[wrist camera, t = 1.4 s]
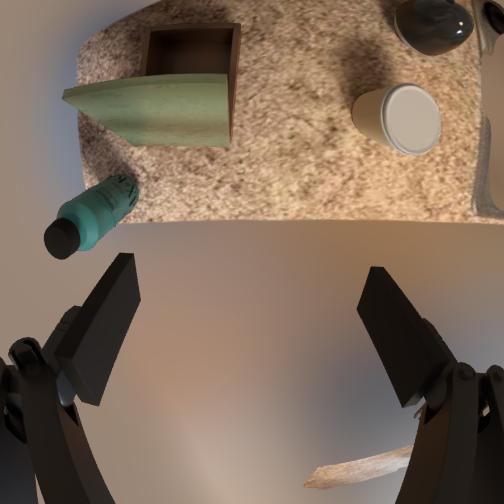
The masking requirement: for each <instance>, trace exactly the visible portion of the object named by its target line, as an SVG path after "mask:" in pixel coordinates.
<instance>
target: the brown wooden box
mask: <svg viewBox="0 0 504 504" xmlns="http://www.w3.org/2000/svg"><path fill="white" fill-rule="evenodd" d="M240 44H241V24H240V23H186V24H171V25H161V26H152V27H146V28H145V35H144V42H143V50H142V59H141V68H140V77H142V76H153V75H168V74H227V83H228V107H229V128H230V142H231V140H232V134H233V121H234V109H235V97H236V86H237V75H238V64H239V54H240Z"/></svg>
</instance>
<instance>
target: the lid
mask: <svg viewBox="0 0 504 504" xmlns="http://www.w3.org/2000/svg"><path fill="white" fill-rule="evenodd" d="M62 99H63V100H64V101H66V102H67V103H69V104H70V105H72V106H74V107H75V108H77V109H78V110H80V111H81V112H83V113H84V114H86V115H88V116H89V117H91V118H92V119H94V120H95V121H97V122H98V123H100V124H101V125H103V126H105V127H106V128H108V129H109V130H111V131H112V132H114V133H115V134H117V135H118V136H120V137H121V138H123V139H124V140H126V141H127V142H129V143H130V144H132V145H133V146H135V147H139V146H211V147H230V128H229V107H228V83H227V74H168V75H153V76H142V77H133V78H125V79H117V80H111V81H104V82H99V83H93V84H88V85H83V86H78V87H74V88H70V89H65V90H64V92H63V96H62Z"/></svg>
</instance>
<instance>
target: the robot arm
mask: <svg viewBox="0 0 504 504" xmlns="http://www.w3.org/2000/svg"><path fill="white" fill-rule="evenodd" d="M140 301H141V298H140V292H139V286H138V279H137V273H136V266H135V259H134V254H133V253H119V254H118V256H117V257H116V258H115V259H114V261H113V262H112V264H111V265H110V266H109V268H108V269H107V270H106V272H105V273H104V275H103V276H102V277H101V279H100V280H99V282H98V283H97V284H96V286H95V287H94V289H93V290H92V292H91V293H90V295H89V296H88V298H87V299H86V301H85V302H84V304H83V306H82V307H80V306H73V307H72V308H70V309H69V310H68V311H67V312H65V314H64V315H63V317H62V318H61V320H60V323H58V324H57V326H56V327H55V330H54V331H53V332H52V334H51V335H50V337H49V338H48V340H47V342H46V343H45V345H44V347H43V348H42V349H41V347H40V345H39V343H38V342H37V341H36V340H35V339H34V338H30V337H27V338H22V339H19V340H17V341H16V342H15V343H14V344H13V345H12V346H11V348H10V349H9V353H8V356H9V358H10V359H11V361H12V362H13V364H14V365H6V364H5V362H4V361H3V359H2V358H1V357H0V504H38V498H37V490H36V480H35V474H36V477H37V480H38V484H39V487H40V490H41V493H42V496H43V498H44V501H45V504H115V502H114V500H113V498H112V496H111V494H110V492H109V490H108V488H107V486H106V484H105V482H104V480H103V478H102V475H101V473H100V471H99V469H98V467H97V464H96V462H95V459H94V457H93V454H92V452H91V449H90V447H89V444H88V441H87V438H86V436H85V433H84V430H83V427H82V424H81V421H80V417H79V414H78V411H77V407H76V405H75V403H74V401H73V400H74V397H75V395H76V394H77V395H78V397H79V398H80V400H81V401H82V402H84V403H88V404H91V405H95V406H99V404H100V401H101V399H102V396H103V393H104V390H105V387H106V384H107V382H108V379H109V376H110V374H111V371H112V368H113V366H114V363H115V360H116V358H117V355H118V353H119V350H120V348H121V345H122V343H123V340H124V338H125V336H126V333H127V331H128V329H129V326H130V324H131V322H132V319H133V317H134V314H135V312H136V310H137V308H138V306H139V303H140ZM357 311H358V313H359V315H360V317H361V319H362V321H363V323H364V325H365V327H366V329H367V331H368V333H369V335H370V338H371V340H372V342H373V344H374V346H375V348H376V350H377V352H378V354H379V356H380V359H381V361H382V363H383V365H384V367H385V369H386V372H387V374H388V376H389V378H390V380H391V383H392V385H393V387H394V390H395V392H396V394H397V397H398V399H399V401H400V404H401V406H402V408H405V407H409V406H413V405H416V404H417V403H418V402H419V401H420V399H421V398H422V397H423V396H424V398H425V400H426V402H425V403H424V405H423V406H422V407H421V408H420V409H419V410H418V411H417V412H416V414H415V415H414V418H416V417H417V416H418V415H419V414H420V413H421V416H420V418H419V420H420V421H419V426H418V431H417V435H416V439H415V443H414V447H413V451H412V454H411V458H410V461H409V465H408V468H407V471H406V474H405V477H404V480H403V483H402V486H401V489H400V492H399V494H398V497H397V499H396V502H395V504H504V370H503V368H501V367H500V366H497V365H492V366H491V367H490V368H489V369H488V370H487V372H486V373H476V372H475V370H474V369H473V368H472V367H471V366H470V365H468V364H466V363H463V362H460V363H458V362H457V360H456V359H455V357H454V356H453V354H452V352H451V351H450V349H449V348H448V346H447V345H446V343H445V342H444V341H443V340H442V337H441V336H440V335H439V334H438V332H437V330H436V329H435V327H434V326H433V325H432V324H431V323H430V322H429V321H427V320H426V319H425V318H421V316H420V315H419V313H418V312H417V311H416V309H415V308H414V307H413V305H412V304H411V302H410V301H409V300H408V298H407V297H406V296H405V294H404V293H403V292H402V290H401V289H400V288H399V287H398V285H397V284H396V283H395V281H394V280H393V279H392V277H391V276H390V275H389V274H388V272H387V271H386V270H385V268H384V267H371V268H370V271H369V274H368V277H367V280H366V284H365V287H364V289H363V292H362V295H361V298H360V301H359V304H358V306H357ZM488 406H489V410H490V412H489V413H488V414H487V415H486V416H484V415H483V411H484V410H485V409H486V408H487V407H488ZM4 411H5V412H4Z"/></svg>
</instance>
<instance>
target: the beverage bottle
mask: <svg viewBox="0 0 504 504" xmlns="http://www.w3.org/2000/svg"><path fill="white" fill-rule="evenodd" d="M98 183H99V182H98ZM138 196H139V192H138V187H137V185H136V183H135V181H134V180H133V179H132V178H131V177H129V176H127V175H125V174H124V175H123V174H117V175H116V174H115V175H114V176H113V175H112V176H110V177H108V178H107V179H106V180H104V181H102V182H100V183H99V184H97V185H95V186H93V187H91V188H88V190H86V191H85V192H83V193H82V194H80V195H78V196H77V197H75V198H73V199H72V200H70V201H68V202H66V203H64V204H63V205H62V206H61V207H60V209H59V211H58V214H57V219H56V220H55V221H54V222H53V223H52V224H51V225H50V226H49V227H48V228H47V229H46V231H45V233H44V242H45V246H46V248H47V250H48V252H49V253H50V254H51V255H52V256H53V257H55V258H57V259H61V260H63V259H66V258H68V257H69V256H70V255H72V254H73V253H75V252H76V251H87V250H90V249H91V248H93V247H94V246H95V245H96V243H97V242H98V241H99V240H100V239H101V238H102V237H103V236H104V235H105V234H106V233H107V232H108V231H109V230H110V229H112V228H113V227H114V226H115V225H116V224H117V223H118V222H119V221H120V220H121V219H122V218H124V217H125V215H128V214H129V213H130V212H131V211H132V210H133V208H134V206H135V205H136V204H137V200H138V198H139V197H138ZM131 209H132V210H131ZM130 210H131V211H130ZM129 211H130V212H129ZM127 213H128V214H127Z"/></svg>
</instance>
